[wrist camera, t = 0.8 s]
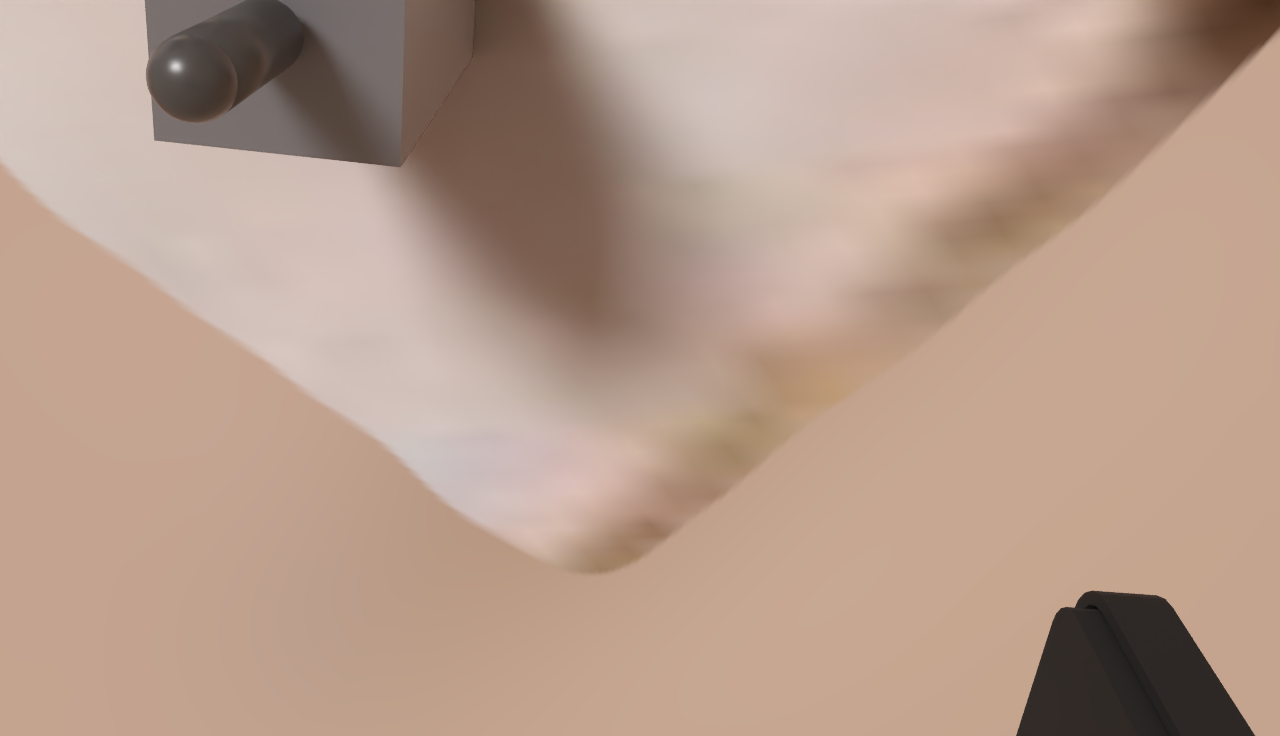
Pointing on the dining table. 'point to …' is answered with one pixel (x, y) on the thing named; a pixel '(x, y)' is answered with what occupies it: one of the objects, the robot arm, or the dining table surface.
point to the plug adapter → (305, 73)
